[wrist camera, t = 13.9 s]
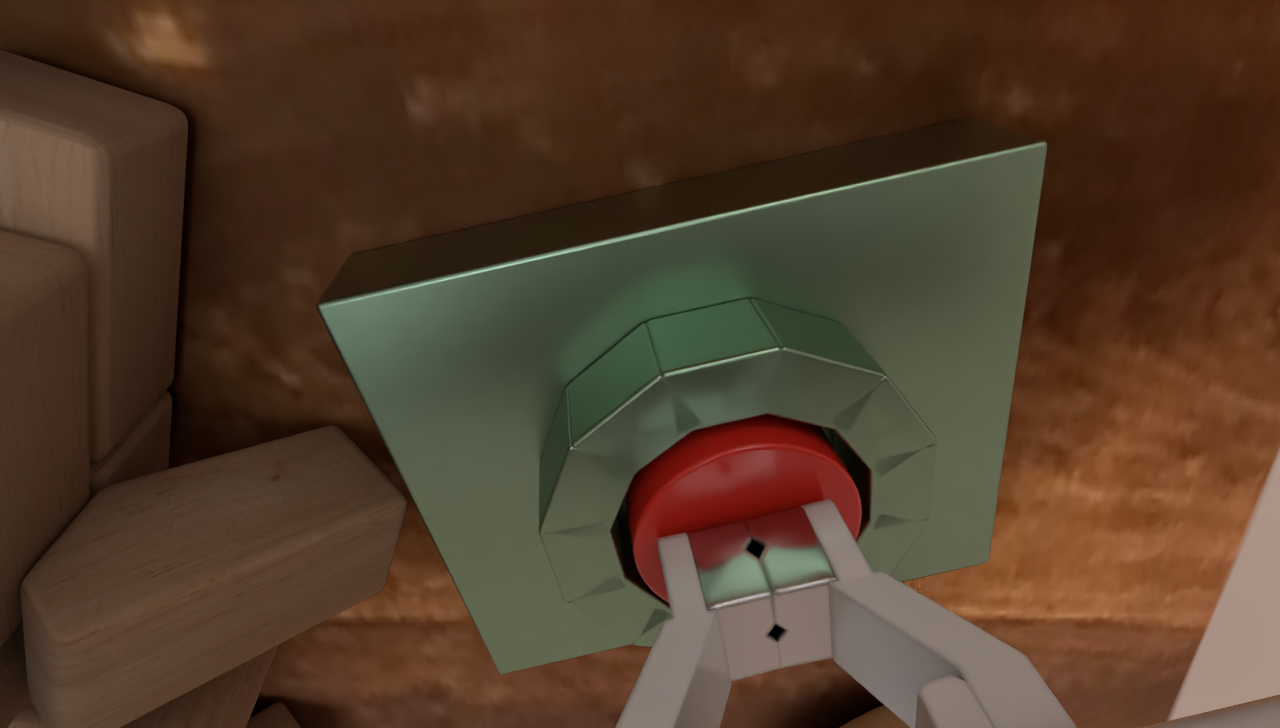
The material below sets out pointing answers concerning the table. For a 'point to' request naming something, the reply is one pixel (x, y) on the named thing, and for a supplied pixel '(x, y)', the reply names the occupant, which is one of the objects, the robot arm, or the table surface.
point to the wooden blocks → (141, 447)
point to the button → (734, 483)
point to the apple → (877, 720)
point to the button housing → (699, 364)
